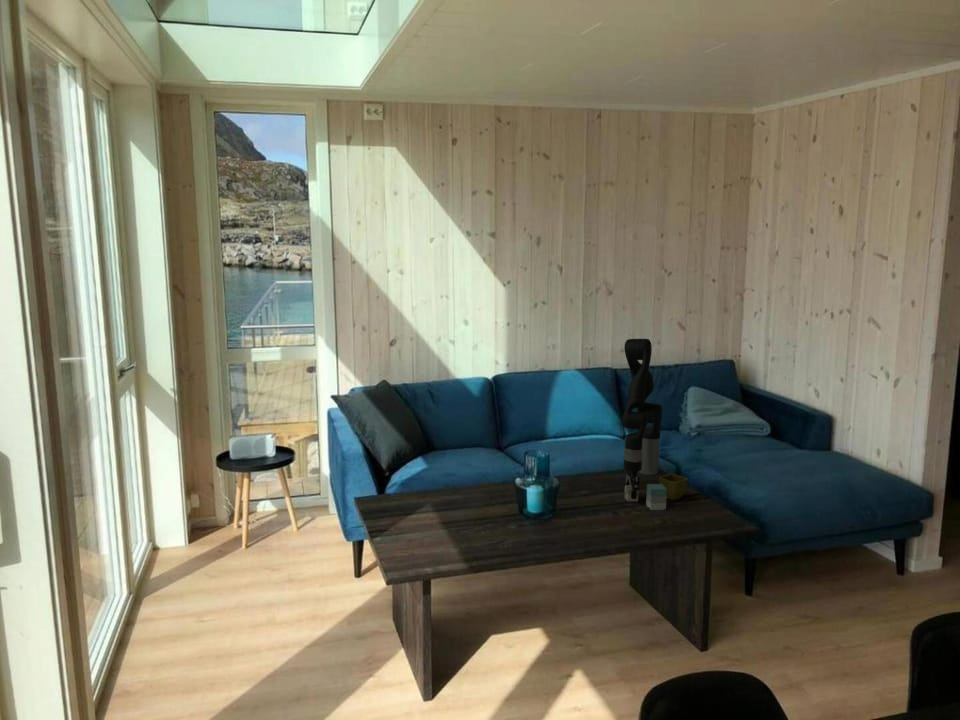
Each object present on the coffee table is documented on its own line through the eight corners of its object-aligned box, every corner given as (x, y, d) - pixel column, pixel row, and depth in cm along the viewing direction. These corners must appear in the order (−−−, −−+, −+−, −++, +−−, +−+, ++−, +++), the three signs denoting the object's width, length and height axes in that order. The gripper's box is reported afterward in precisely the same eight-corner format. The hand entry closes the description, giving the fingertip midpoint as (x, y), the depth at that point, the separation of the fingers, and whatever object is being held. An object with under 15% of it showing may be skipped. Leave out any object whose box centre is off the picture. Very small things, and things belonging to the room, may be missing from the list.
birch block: (624, 497, 327) (625, 485, 326) (634, 497, 328) (635, 485, 327) (627, 501, 323) (627, 489, 322) (637, 501, 323) (638, 488, 322)
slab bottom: (645, 504, 320) (646, 498, 319) (660, 504, 320) (661, 497, 320) (650, 510, 314) (650, 503, 313) (665, 510, 314) (666, 503, 314)
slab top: (646, 491, 319) (646, 484, 318) (661, 490, 319) (662, 484, 319) (650, 496, 313) (651, 489, 312) (666, 496, 313) (666, 489, 312)
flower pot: (674, 503, 322) (675, 482, 320) (657, 497, 328) (658, 477, 327) (686, 498, 327) (688, 478, 326) (669, 493, 334) (671, 473, 332)
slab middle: (646, 498, 319) (646, 491, 319) (661, 497, 320) (661, 490, 319) (650, 503, 313) (651, 496, 313) (666, 503, 314) (666, 496, 313)
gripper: (619, 453, 329) (618, 490, 332) (628, 463, 315) (626, 501, 318) (637, 453, 330) (635, 489, 332) (646, 463, 315) (644, 501, 318)
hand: (631, 495), depth 325 cm, fingers open, 8 cm apart
